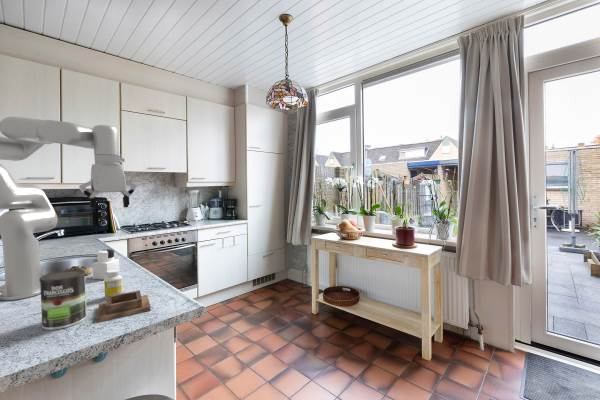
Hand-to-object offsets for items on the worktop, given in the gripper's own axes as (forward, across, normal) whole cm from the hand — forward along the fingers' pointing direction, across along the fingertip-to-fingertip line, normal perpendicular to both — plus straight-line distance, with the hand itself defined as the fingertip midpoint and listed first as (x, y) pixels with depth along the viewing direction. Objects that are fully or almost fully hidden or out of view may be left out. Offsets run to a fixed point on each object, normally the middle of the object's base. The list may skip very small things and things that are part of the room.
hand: (110, 208), depth 101 cm
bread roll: (+31, +4, -41) cm, 52 cm away
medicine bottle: (+32, -3, -28) cm, 42 cm away
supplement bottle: (+32, +1, +1) cm, 32 cm away
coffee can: (+32, +16, +12) cm, 38 cm away
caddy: (+32, +2, +15) cm, 36 cm away
